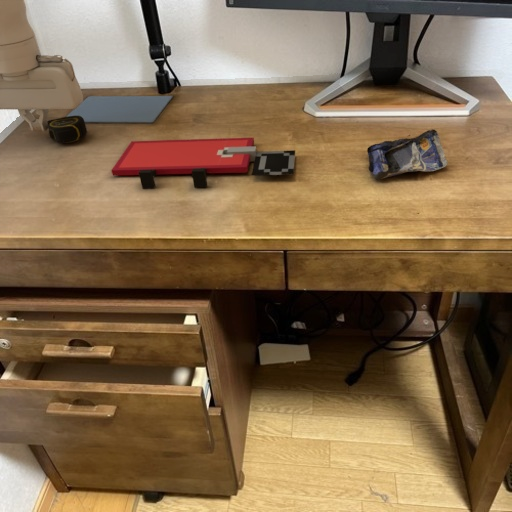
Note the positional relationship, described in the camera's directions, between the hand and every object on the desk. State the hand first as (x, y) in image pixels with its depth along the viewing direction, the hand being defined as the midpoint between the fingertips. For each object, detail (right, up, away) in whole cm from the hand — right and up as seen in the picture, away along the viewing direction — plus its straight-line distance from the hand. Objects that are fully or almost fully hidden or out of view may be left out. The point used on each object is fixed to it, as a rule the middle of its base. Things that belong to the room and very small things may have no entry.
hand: (40, 129), depth 96 cm
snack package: (+65, -11, -17) cm, 68 cm away
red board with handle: (+33, -9, -12) cm, 37 cm away
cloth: (+12, +7, +10) cm, 17 cm away
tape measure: (+5, -2, 0) cm, 6 cm away
